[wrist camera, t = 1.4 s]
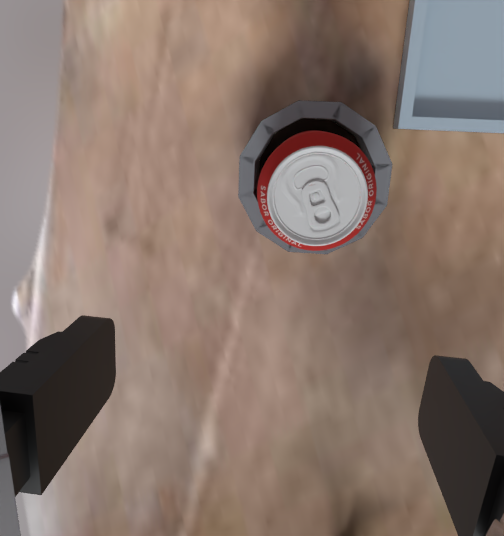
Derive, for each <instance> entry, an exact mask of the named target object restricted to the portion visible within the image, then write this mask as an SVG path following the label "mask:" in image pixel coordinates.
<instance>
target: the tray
mask: <svg viewBox="0 0 504 536" xmlns="http://www.w3.org/2000/svg"><path fill="white" fill-rule="evenodd" d="M393 128H394V129H417V130H440V131H464V132H487V133H504V0H410V1H409V9H408V17H407V24H406V32H405V40H404V48H403V55H402V63H401V71H400V79H399V86H398V94H397V102H396V110H395V117H394V125H393Z"/></svg>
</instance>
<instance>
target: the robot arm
mask: <svg viewBox="0 0 504 536" xmlns="http://www.w3.org/2000/svg"><path fill="white" fill-rule="evenodd" d="M115 376H116V363H115V326H114V322H113V320H112V319H110V318H101V317H92V316H80V317H79V318H78V319H77V320H75V321H74V322H73V323H72V324H71V325H70V326H69V327H67V328H66V329H65V330H64V331H63V332H56V333H54V334H52V335H50V336H47V337H45V338H43V339H40V340H39V341H37V342H36V343H35V344H34V345H33V346H31V347H30V348H29V349H28V350H27V351H26V353H23V354H22V355H21V356H19V357H18V358H17V359H16V361H15V362H12V363H11V364H10V365H9V366H8V367H6V368H5V369H4V370H2V371H1V372H0V536H21V534H20V527H19V520H18V514H17V507H16V501H15V497H16V495H17V494H18V493H19V492H23V493H30V494H37V495H42V493H43V492H44V490H45V489H46V488H47V486H48V485H49V483H50V482H51V480H52V479H53V478H54V476H55V475H56V473H57V472H58V470H59V469H60V468H61V466H62V465H63V463H64V462H65V460H66V459H67V457H68V456H69V455H70V453H71V452H72V450H73V449H74V447H75V446H76V445H77V443H78V442H79V440H80V439H81V437H82V436H83V435H84V433H85V432H86V430H87V429H88V427H89V426H90V425H91V423H92V422H93V420H94V419H95V417H96V416H97V414H98V413H99V412H100V410H101V409H102V407H103V406H104V404H105V403H106V402H107V400H108V399H109V397H110V395H111V393H112V390H113V387H114V383H115ZM418 426H419V434H420V437H421V440H422V443H423V445H424V448H425V451H426V453H427V456H428V458H429V461H430V464H431V466H432V469H433V471H434V474H435V476H436V479H437V482H438V484H439V487H440V489H441V492H442V495H443V497H444V500H445V502H446V505H447V508H448V510H449V513H450V515H451V518H452V521H453V523H454V526H455V528H456V531H457V534H458V536H504V392H503V391H502V390H500V389H499V388H497V387H496V386H495V385H493V384H492V383H491V382H486V381H483V380H482V378H481V377H480V376H479V374H478V373H477V371H476V370H475V369H474V367H473V366H472V364H471V363H470V362H469V361H468V360H467V359H462V358H453V357H444V356H433V357H432V359H431V361H430V364H429V368H428V372H427V377H426V381H425V386H424V391H423V395H422V400H421V404H420V409H419V416H418Z"/></svg>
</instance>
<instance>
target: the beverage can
mask: <svg viewBox="0 0 504 536" xmlns="http://www.w3.org/2000/svg"><path fill="white" fill-rule="evenodd" d="M376 192H377V187H376V178H375V174H374V171H373V168H372V166H371V164H370V162H369V160H368V158H367V157H366V156H365V154H364V153H363V152H362V151H361V150H360V148H359V147H357V146H356V145H355V144H354V143H353V142H351V141H349V140H348V139H346V138H344V137H342V136H339V135H337V134H333V133H329V132H324V131H319V130H309V131H303V132H300V133H297V134H295V135H293V136H291V137H290V138H288V139H287V140H285V141H284V142H283V143H282V144H281V145H280V146H278V147H277V148H276V149H275V150H274V151H273V152H272V154H271V155H270V156H269V157H268V159H267V161H266V162H265V164H264V166H263V168H262V170H261V173H260V176H259V180H258V186H257V200H258V206H259V209H260V213H261V215H262V217H263V219H264V221H265V223H266V225H267V226H268V228H269V229H270V230H271V231H272V232H273V233H274V234H275V235H276V236H277V237H278V238H279V239H281V240H282V241H284V242H285V243H287V244H289V245H291V246H293V247H296V248H299V249H304V250H311V251H320V250H327V249H331V248H335V247H337V246H340V245H342V244H344V243H346V242H347V241H349V240H350V239H352V238H353V237H354V236H356V235H357V234H358V233H359V232H360V231H361V229H362V228H363V227H364V226H365V224H366V223H367V221H368V220H369V218H370V216H371V214H372V211H373V209H374V205H375V201H376Z"/></svg>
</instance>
